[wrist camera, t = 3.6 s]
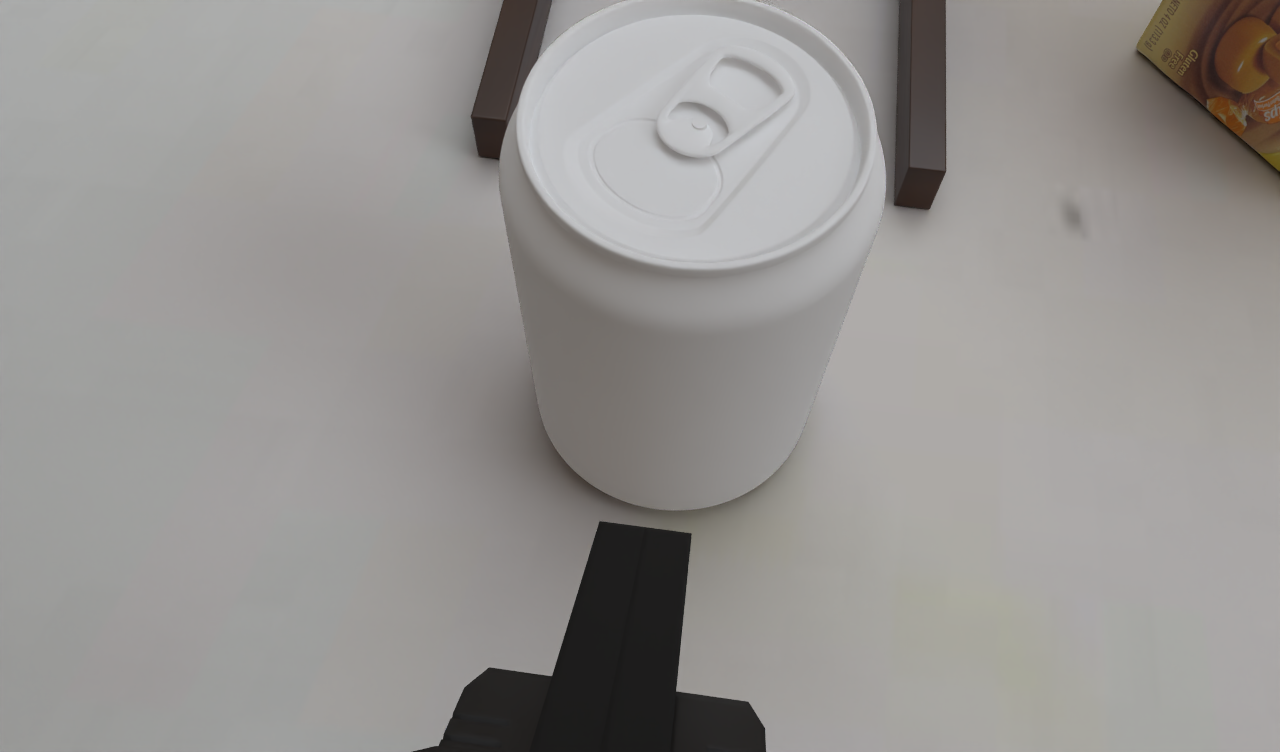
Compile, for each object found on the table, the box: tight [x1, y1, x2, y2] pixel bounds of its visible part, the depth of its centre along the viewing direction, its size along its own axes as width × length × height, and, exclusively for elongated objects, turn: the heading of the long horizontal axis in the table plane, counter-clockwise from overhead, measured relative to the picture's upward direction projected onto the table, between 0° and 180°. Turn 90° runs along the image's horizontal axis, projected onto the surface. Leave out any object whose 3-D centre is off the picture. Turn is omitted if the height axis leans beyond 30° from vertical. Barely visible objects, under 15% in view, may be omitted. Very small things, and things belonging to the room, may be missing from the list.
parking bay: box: [471, 0, 946, 209], centre depth 36 cm, size 15×13×2 cm
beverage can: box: [499, 0, 886, 511], centre depth 25 cm, size 8×8×12 cm
